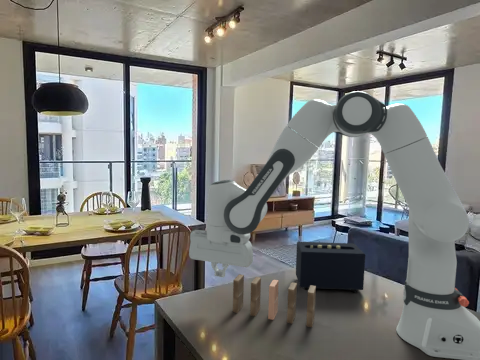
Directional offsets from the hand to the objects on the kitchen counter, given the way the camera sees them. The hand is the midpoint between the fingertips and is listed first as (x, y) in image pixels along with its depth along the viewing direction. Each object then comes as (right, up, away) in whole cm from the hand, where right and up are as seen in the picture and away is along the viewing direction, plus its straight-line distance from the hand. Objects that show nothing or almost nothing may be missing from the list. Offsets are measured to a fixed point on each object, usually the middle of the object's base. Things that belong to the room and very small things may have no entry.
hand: (219, 276), depth 107 cm
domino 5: (+26, -11, -8) cm, 30 cm away
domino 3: (+16, -10, -5) cm, 20 cm away
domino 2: (+11, -10, -3) cm, 15 cm away
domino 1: (+6, -10, -1) cm, 11 cm away
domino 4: (+21, -11, -6) cm, 25 cm away
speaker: (+38, -9, +18) cm, 43 cm away
